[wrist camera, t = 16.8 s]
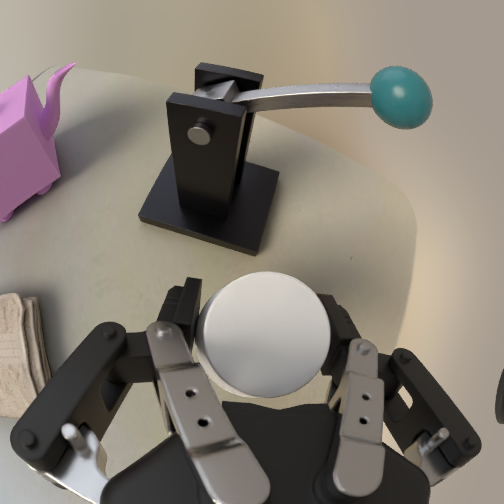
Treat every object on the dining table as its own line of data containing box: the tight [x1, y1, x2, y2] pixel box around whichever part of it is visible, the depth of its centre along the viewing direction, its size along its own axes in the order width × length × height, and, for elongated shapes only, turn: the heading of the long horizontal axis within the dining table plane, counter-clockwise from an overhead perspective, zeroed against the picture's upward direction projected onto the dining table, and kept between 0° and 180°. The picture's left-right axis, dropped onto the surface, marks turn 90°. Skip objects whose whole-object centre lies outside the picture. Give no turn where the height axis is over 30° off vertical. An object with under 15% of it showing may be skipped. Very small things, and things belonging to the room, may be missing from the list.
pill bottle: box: [195, 271, 330, 398], centre depth 14 cm, size 6×6×10 cm
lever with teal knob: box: [193, 66, 433, 129], centre depth 13 cm, size 14×4×4 cm, turn 75°
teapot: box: [0, 62, 75, 222], centre depth 18 cm, size 20×10×13 cm, turn 124°
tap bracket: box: [138, 63, 280, 256], centre depth 19 cm, size 11×9×13 cm
